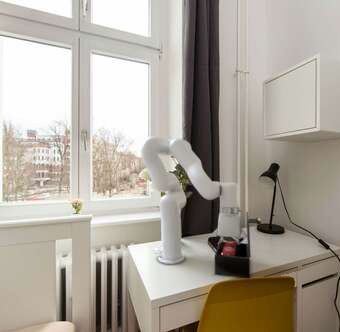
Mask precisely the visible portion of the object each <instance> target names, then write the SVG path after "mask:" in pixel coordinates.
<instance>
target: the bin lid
mask: <svg viewBox="0 0 340 332" xmlns="http://www.w3.org/2000/svg"><path fill="white" fill-rule="evenodd" d="M245 215H246V216H245V217H246V234H247V238H246V240H247V241H246V243H247V244H248V257H249V258H251V257H252V256H251V237H250V236H251V233H250V231H251V230H250V224H256V225H259V226H260V225H261V224H262V222H261V221H262V220H261V219H260V217H256V218H249V211H246V212H245Z"/></svg>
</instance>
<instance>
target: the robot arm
mask: <svg viewBox="0 0 340 332" xmlns="http://www.w3.org/2000/svg"><path fill="white" fill-rule="evenodd" d="M159 155H160V156H171V157H174V159H175V160H176V161H177V162H178V164H179V165H180V166H181V167H182V169H183V170H184V171H185V173H186V175H187V177H188V179H189V181H190V182H191V184H192V185H193V187H194V189H195V190H196V191H197V192H198V193H199V195H200V196H201V197H203V199H206V200H208V201H213V200H215V199H217V198H220V211H219V214H218V220H217V221H218V222H217V228H216V229H215V230H214V231H213V232H212V236H214V237H215V238H216V240H217V241H218V243H219V242H220V249H222V252H223V248H224V247H223V246H224V242H225V241H224V238H225V237H226V238H235V243H236V253H238V251H239V244H240V243H243V241H244V240H246V239H247V232H245V231H244V230H243V227H242V216H241V213H240V212H243V208H242V207H239V184H238V183H237V182H233V181H226V182H222V181H214V180H213V181H212V179H211V178H210V177H209V175H207V173H206V172H205V170H204V167H203V164H202V160H201V159H200V158H199V157H198V156H197V155H196V153H195V152H194V151H193V149H192V146H191V144H190V142H189V141H188V140H185V139H182V138H174V139H167V138H163V137H159V136H157V135H154V136H153V135H152V136H148V137H147V138H146V139H144V141H143V142H142V144H141V147H140V157H141V159H142V162H143V165H144V166H145V168H146V171H147V173H148V176H149V178H150V180H151V183H152V185H153V187H154V189H155V190H156V191H157V192H159V193H163V192H164V193H165V194H163V195H162V196H161V197H160V200H159V203H158V204H159V205H158V207H159V212H160V225H161V226H160V227H161V228H160V231H161V232H160V236H161V237H160V239H161V241H160V243H161V245H160V246H161V247H160V248H157V247H154V248H153V254H155V255H158V262H160V263H162V264H165V265H176V264H179V263H182V262H183V261H185V259H186V258H185V257H186V256H185V254H184V253H182V218H181V212H180V210H182V209H183V208H184V207H185V206H186V204H187V197H186V193H185V191H184V189H183V187H182V185H181V183H180V180H179V178H178V177H177V176H176V174H175V173H173V172H169V171H167V169H166V166H165V164H164V163H163V160H162V159H161V158H160V156H159Z"/></svg>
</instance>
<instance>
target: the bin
mask: <svg viewBox="0 0 340 332" xmlns="http://www.w3.org/2000/svg"><path fill="white" fill-rule="evenodd" d="M226 242H227V241H224V246H225V243H226ZM221 252H222V249H220V242H219V241H218V244H217V248H216V250H215V254H214V275H217V276H224V277H234V278H242V279H251V271H250V270H251V267H250V266H251V264H250V259H251V257H248V243H247V242H241V243H240V244H239V251H238V253H235V257H234V256H223V255H221Z"/></svg>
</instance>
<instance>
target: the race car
mask: <svg viewBox="0 0 340 332" xmlns="http://www.w3.org/2000/svg"><path fill="white" fill-rule="evenodd" d="M225 242H226V243H225V246H223V247H224V248H223V256H234V257H235V253H236V241H231V240H227V241H225Z"/></svg>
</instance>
